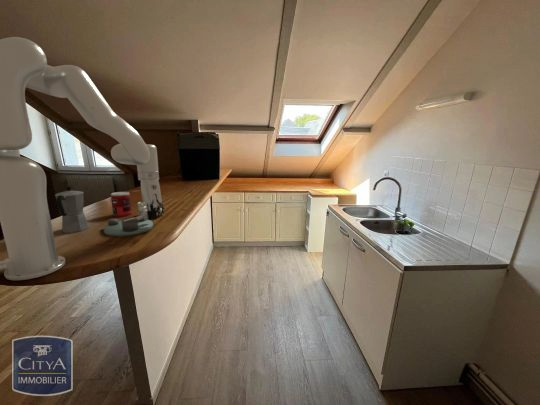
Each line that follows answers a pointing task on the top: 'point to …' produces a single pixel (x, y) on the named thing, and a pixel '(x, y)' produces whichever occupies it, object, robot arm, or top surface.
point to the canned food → (121, 204)
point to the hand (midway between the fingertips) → (152, 219)
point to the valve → (142, 207)
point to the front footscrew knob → (133, 222)
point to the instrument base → (116, 230)
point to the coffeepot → (72, 210)
